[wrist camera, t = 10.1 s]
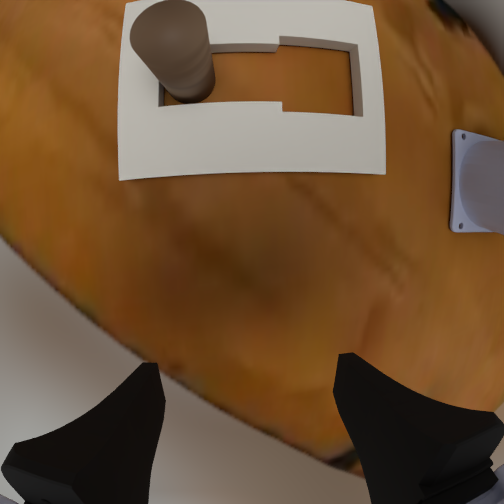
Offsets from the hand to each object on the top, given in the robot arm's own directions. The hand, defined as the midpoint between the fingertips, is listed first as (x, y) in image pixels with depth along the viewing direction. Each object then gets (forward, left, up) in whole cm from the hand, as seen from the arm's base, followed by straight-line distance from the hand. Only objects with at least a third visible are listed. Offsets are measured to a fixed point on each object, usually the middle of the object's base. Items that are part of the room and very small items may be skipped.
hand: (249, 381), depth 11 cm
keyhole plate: (-1, -14, -9) cm, 17 cm away
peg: (+3, -14, -9) cm, 17 cm away
